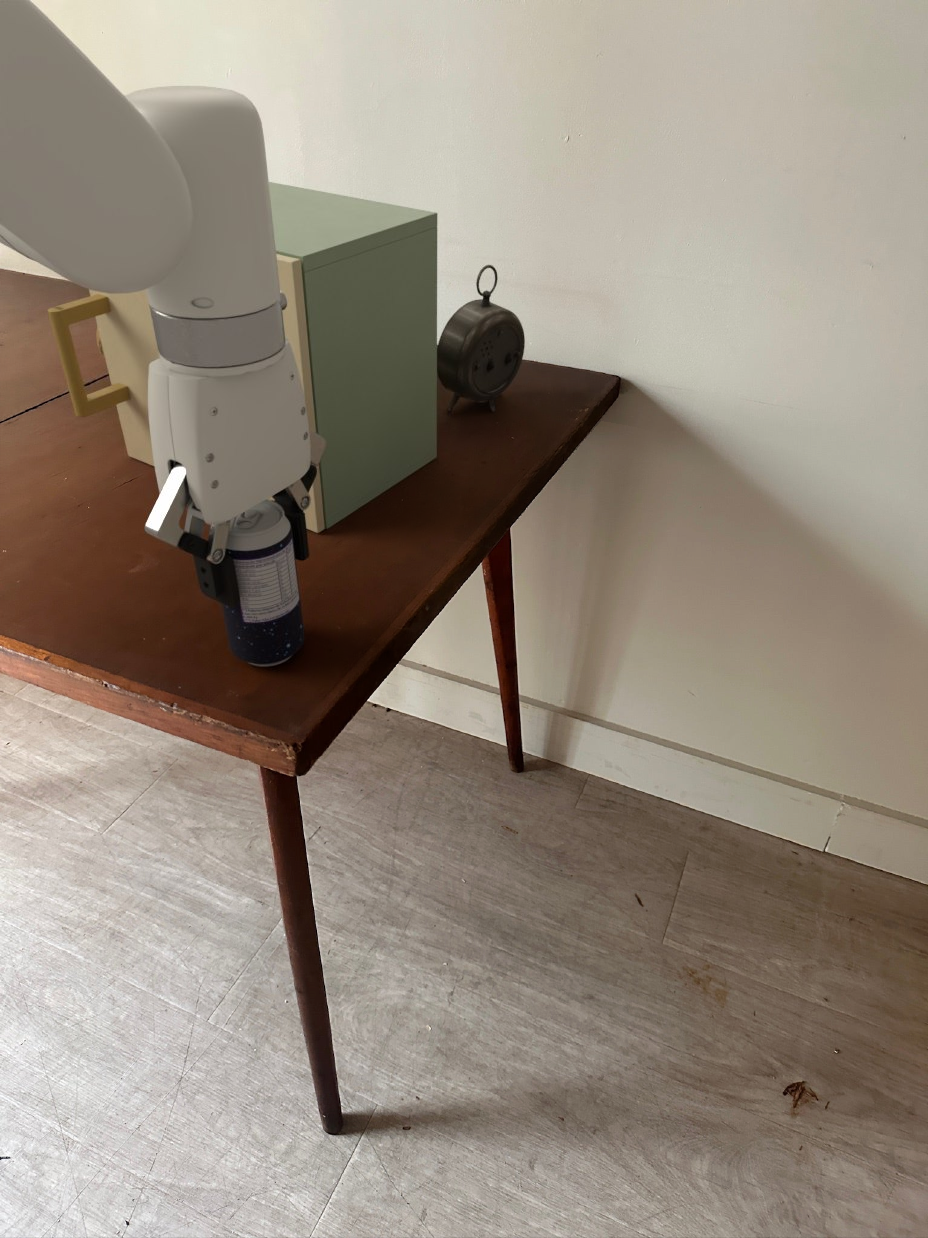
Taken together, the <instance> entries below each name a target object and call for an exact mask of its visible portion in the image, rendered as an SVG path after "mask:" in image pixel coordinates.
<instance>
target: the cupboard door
mask: <svg viewBox="0 0 928 1238" xmlns="http://www.w3.org/2000/svg"><path fill="white" fill-rule="evenodd" d="M276 256H277V266H278V275H279V285H280V290H281V291H282V292H283V293H284V295H285V297H286V299H287V307H286V308H285V310H282V313H283V322H284V332H285V338H286V339H288V340H289V342H290V345H291V348H292V351H293V354H294V357H295V361H296V364H297V368H298V371H299V376H300V380H301V384H302V389H303V394H304V399H305V404H306V411H307V417H308V424H309V428H310V429H311V430H313V431H314V432H316V426H315V415H314V403H313V392H312V381H311V370H310V359H309V347H308V336H307V325H306V314H305V302H304V291H303V280H302V269H301V260H300V259H296V258H292V257H288V256H283V255H279V254H276ZM88 292H89V296H87V297H82V298H80V299H76V300H72V301H70V302H66V303H62V304H59V305H56V306H53V307H52V306H51V307H49V308H47V313H48V314H47V315H48V317H49V321H50V325H51V328H52V332H53V333H52V334H53V336H54V339H55V343H56V348H57V351H58V355H59V358H60V362H61V366H62V371H63V374H64V377H65V381H66V385H67V388H68V391H69V392H68V393H69V395H70V398H71V404H72V406H73V409H74V414H75V416H76V417H77V418H86V417H90V416H92V415H94V414H97V413H99V412H102V411H105V410H107V409H109V408H111V407H114V406H116V409H117V410H116V411H117V414H118V418H119V423H120V427H121V431H122V435H123V439H124V444H125V447H126V451H127V456H128V457H130V458H132V459H135V460H137V461H140V462H142V463H144V464H147V465H149V466H153V467H154V468H155V466H154V459H153V452H152V444H151V436H150V426H149V412H148V375H149V364H150V363H151V362H153V361H155V360H157V359H159V358H160V357H159V352H158V347H157V342H156V337H155V332H154V327H153V322H152V317H151V312H150V307H149V302H148V297H147V292H146V289H145V290H142V291H137V292H132V293H124V294H109V293H104V292H98V291H93V290H90V289H88ZM92 318H95V322H96V326H97V328H98V330H99V334H100V338H101V343H102V347H103V351H104V355H105V360H106V362H105V364H106V367H107V372H108V376H109V380H110V384H111V385H109V386H106V387H104V388H101V389H98V390H96V391H93V392H91V393H88V394H87V391H86V388H85V382H84V380H83V376H82V372H81V368H80V364H79V361H78V356H77V353H76V348H75V345H74V341H73V337H72V332H71V329H70V325H73V324H76V323H80V322H82V321H83V322H84V321H85V320H89V319H92ZM316 468H317V475H316V477H315V480H314V482H313V484H312V486H311V489H310V491H309V493H308V494H309V495H310V498H311V503H310V506H309V507H308V508H307V509H306V510H304V513H305V519H306V529H307V530H309V531H311V532H313V533H316V534H320V533H321V532H322V531H324V530H325V529H326V528H325V527H324V516H323V504H322V493H321V482H320V471H319V465H318V466H316ZM268 500H273V501H275V500H274V499H273V498H272V496H271V497H269V498H268Z"/></svg>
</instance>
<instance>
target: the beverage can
mask: <svg viewBox="0 0 928 1238" xmlns="http://www.w3.org/2000/svg"><path fill="white" fill-rule="evenodd" d="M225 554H226V555H228V556H230V557H232V558H233V560H234V565H235V571H236V577H237V583H238V589H239V594H240V603H239V605H237V606H236V607H234V608H230V607H228V606H226V605H224V604H222V603H220V604H221V608H222V615H223V620H224V625H225V630H226V635H227V642H228V646H229V650H230V651H231V653H232V654H233V655H234V656H235V658H237V659H239V660H241V661H243V662H245V663H248V664H249V665H252V666H256V667H263V668H264V667H265V668H267V667H273V666H277V665H280V664H282V663H285V662H286V661H288V660H289V659H290V658H292V656H293V655H295V654H296V653H298V651H299V650H300V649H301V648H302V646H303V645H304V642H305V627H304V620H303V612H302V611H303V610H302V602H301V594H300V586H299V578H298V567H297V559H295V551H294V542H293V534H292V526H291V524H290V522H289V520H288V519H287V518H286V517H285V515H284V510H283V508H282V507H281V506H280V505H279V504H278V503H276V502H274V501H271V500H268V499H266V500H264V501H262V502H261V503H259V504H257V505H255V506H254V507H252V508H250V509H248V510H247V511H245V512H243V513H241V514H240V515H238V516H236V517H234V518H232V519H231V522H230V528H229V533H228V539H227V545H226V551H225Z"/></svg>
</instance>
